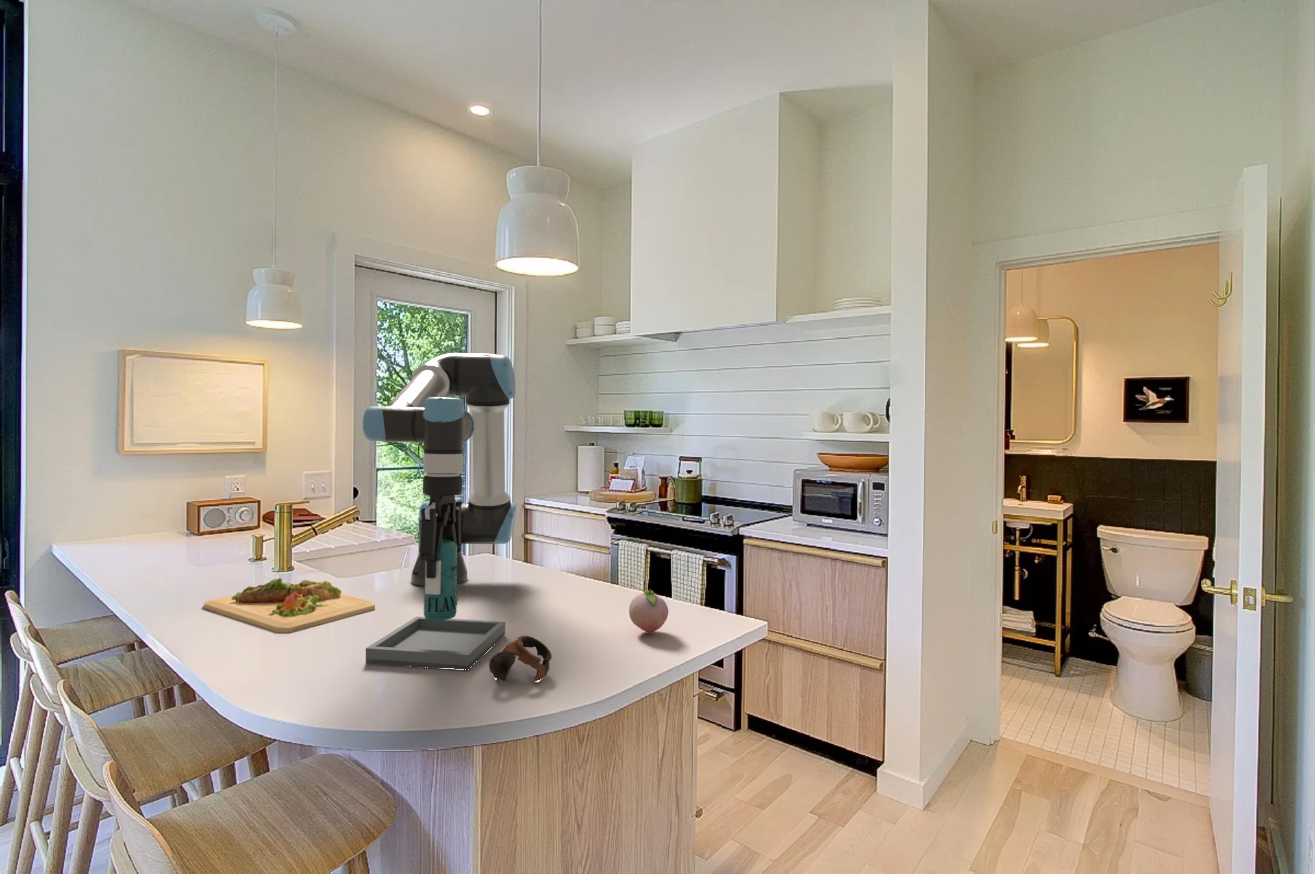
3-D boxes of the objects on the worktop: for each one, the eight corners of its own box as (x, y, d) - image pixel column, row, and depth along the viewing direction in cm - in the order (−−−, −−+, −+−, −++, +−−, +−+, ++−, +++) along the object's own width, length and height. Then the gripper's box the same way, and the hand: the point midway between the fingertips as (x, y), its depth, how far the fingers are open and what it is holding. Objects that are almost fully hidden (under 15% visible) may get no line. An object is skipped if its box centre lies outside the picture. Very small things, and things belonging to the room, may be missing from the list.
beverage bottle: (421, 629, 127) (423, 527, 126) (424, 619, 134) (425, 521, 133) (456, 627, 129) (458, 526, 128) (457, 617, 135) (459, 521, 135)
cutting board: (380, 610, 158) (380, 579, 158) (283, 637, 138) (284, 602, 138) (295, 588, 176) (295, 560, 175) (199, 609, 155) (199, 577, 155)
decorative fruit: (623, 628, 147) (624, 584, 147) (657, 625, 150) (658, 582, 149) (635, 642, 138) (637, 595, 138) (672, 639, 141) (673, 593, 141)
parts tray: (416, 630, 142) (416, 616, 142) (504, 635, 140) (505, 621, 140) (365, 664, 122) (365, 648, 122) (467, 671, 120) (468, 655, 120)
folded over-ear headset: (512, 666, 125) (535, 630, 124) (542, 700, 120) (566, 663, 119) (467, 669, 115) (491, 630, 114) (498, 707, 110) (523, 666, 109)
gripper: (445, 470, 140) (443, 576, 141) (400, 478, 121) (398, 601, 122) (479, 471, 140) (477, 578, 140) (439, 479, 120) (437, 603, 121)
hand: (440, 589), depth 131 cm, fingers closed on beverage bottle, 6 cm apart
